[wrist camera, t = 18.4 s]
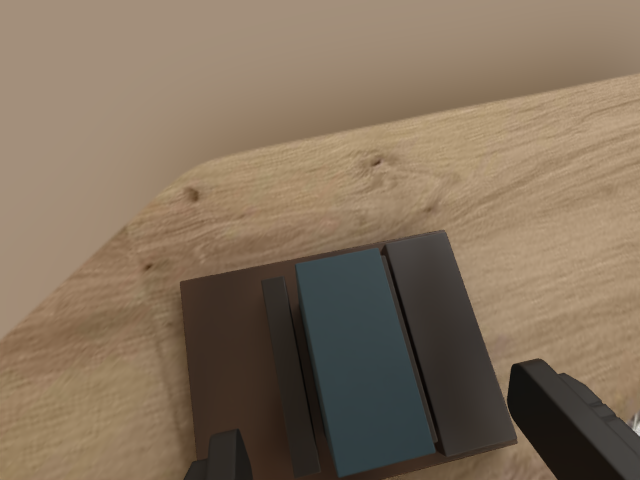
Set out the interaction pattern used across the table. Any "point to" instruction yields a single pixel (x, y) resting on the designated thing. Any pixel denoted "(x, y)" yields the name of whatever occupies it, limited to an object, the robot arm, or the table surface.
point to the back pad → (360, 364)
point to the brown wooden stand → (296, 372)
